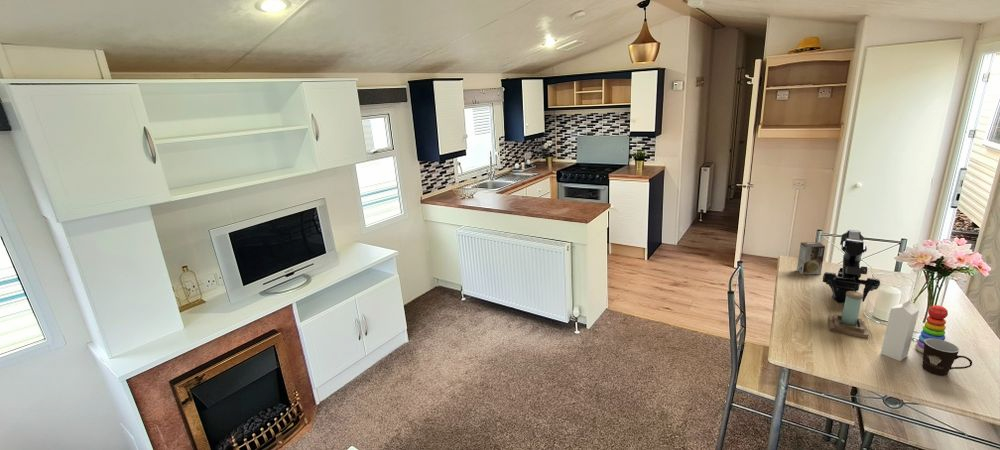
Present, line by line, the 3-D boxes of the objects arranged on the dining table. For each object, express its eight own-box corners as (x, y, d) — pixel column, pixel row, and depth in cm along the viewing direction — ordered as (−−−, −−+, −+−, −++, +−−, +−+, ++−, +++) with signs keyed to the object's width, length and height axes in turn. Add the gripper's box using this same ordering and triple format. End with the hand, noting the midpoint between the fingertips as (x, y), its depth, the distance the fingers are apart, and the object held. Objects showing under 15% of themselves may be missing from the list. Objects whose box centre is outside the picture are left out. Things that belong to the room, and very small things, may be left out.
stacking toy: (931, 345, 167) (943, 301, 161) (950, 358, 159) (963, 311, 154) (909, 345, 168) (920, 301, 162) (926, 357, 160) (938, 311, 155)
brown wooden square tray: (828, 318, 189) (829, 311, 188) (863, 324, 183) (865, 318, 182) (830, 331, 180) (831, 324, 179) (868, 338, 173) (869, 331, 173)
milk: (907, 356, 162) (922, 302, 155) (900, 361, 159) (914, 307, 152) (887, 348, 167) (900, 296, 160) (879, 353, 164) (892, 300, 157)
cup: (850, 321, 183) (856, 290, 179) (859, 327, 178) (866, 296, 174) (836, 321, 184) (843, 291, 179) (846, 328, 179) (852, 297, 174)
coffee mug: (911, 364, 157) (917, 339, 154) (933, 361, 158) (940, 337, 155) (945, 384, 146) (952, 358, 143) (969, 382, 147) (977, 356, 144)
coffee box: (814, 270, 236) (819, 241, 232) (821, 274, 230) (826, 246, 226) (795, 270, 238) (800, 242, 233) (802, 274, 232) (806, 246, 227)
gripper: (827, 254, 189) (825, 288, 184) (883, 261, 179) (883, 297, 174) (823, 265, 198) (821, 297, 192) (877, 272, 188) (876, 306, 183)
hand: (849, 299), depth 185 cm, fingers open, 9 cm apart
